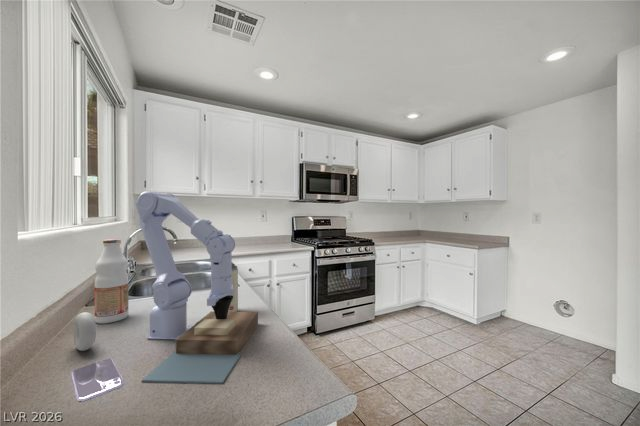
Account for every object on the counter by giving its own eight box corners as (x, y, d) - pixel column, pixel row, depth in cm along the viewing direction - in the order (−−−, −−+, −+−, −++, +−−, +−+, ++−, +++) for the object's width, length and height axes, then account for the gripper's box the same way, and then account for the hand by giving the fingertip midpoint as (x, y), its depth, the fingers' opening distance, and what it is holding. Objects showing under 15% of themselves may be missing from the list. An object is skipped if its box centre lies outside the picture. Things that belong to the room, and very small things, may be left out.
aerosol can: (216, 311, 99) (216, 258, 99) (234, 307, 103) (233, 256, 103) (222, 317, 93) (221, 261, 94) (240, 312, 98) (240, 259, 98)
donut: (98, 352, 70) (98, 314, 70) (80, 358, 67) (80, 319, 67) (87, 341, 76) (87, 307, 76) (71, 346, 73) (71, 310, 73)
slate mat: (141, 381, 57) (141, 380, 57) (174, 353, 69) (174, 351, 69) (222, 383, 57) (222, 381, 57) (241, 354, 69) (241, 352, 69)
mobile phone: (111, 356, 67) (125, 381, 57) (111, 360, 67) (125, 386, 57) (70, 369, 61) (77, 400, 51) (70, 373, 61) (77, 405, 51)
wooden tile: (194, 335, 71) (194, 327, 71) (204, 325, 77) (204, 319, 77) (227, 335, 70) (227, 327, 70) (235, 326, 76) (235, 319, 76)
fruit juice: (103, 326, 86) (103, 241, 87) (88, 321, 91) (89, 240, 91) (134, 316, 95) (134, 238, 95) (119, 312, 99) (119, 238, 99)
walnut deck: (175, 355, 68) (175, 339, 68) (210, 323, 88) (210, 311, 88) (236, 356, 68) (236, 340, 68) (257, 323, 88) (257, 311, 88)
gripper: (225, 282, 70) (225, 333, 70) (242, 270, 85) (242, 313, 85) (199, 282, 71) (199, 333, 71) (221, 270, 85) (221, 312, 85)
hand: (221, 322), depth 78 cm, fingers closed
